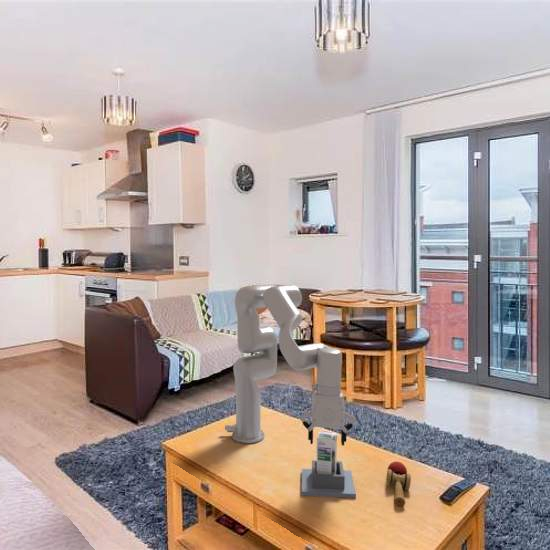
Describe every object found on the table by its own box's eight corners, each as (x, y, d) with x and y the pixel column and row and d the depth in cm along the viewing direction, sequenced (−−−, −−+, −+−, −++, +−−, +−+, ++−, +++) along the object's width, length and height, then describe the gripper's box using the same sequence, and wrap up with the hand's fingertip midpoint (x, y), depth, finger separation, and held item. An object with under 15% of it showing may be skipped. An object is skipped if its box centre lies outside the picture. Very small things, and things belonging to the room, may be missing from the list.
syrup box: (315, 484, 138) (316, 437, 137) (318, 474, 144) (319, 430, 143) (334, 486, 137) (335, 440, 136) (336, 476, 142) (337, 432, 142)
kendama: (416, 512, 128) (410, 473, 145) (413, 493, 127) (407, 455, 144) (388, 513, 130) (386, 474, 147) (385, 494, 129) (383, 457, 146)
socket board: (301, 495, 134) (301, 478, 133) (301, 472, 148) (302, 456, 147) (355, 497, 133) (356, 480, 132) (351, 474, 147) (351, 458, 146)
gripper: (300, 392, 135) (299, 447, 137) (358, 394, 134) (356, 449, 135) (300, 384, 143) (299, 436, 144) (355, 386, 142) (353, 438, 143)
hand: (327, 442), depth 140 cm, fingers open, 9 cm apart
